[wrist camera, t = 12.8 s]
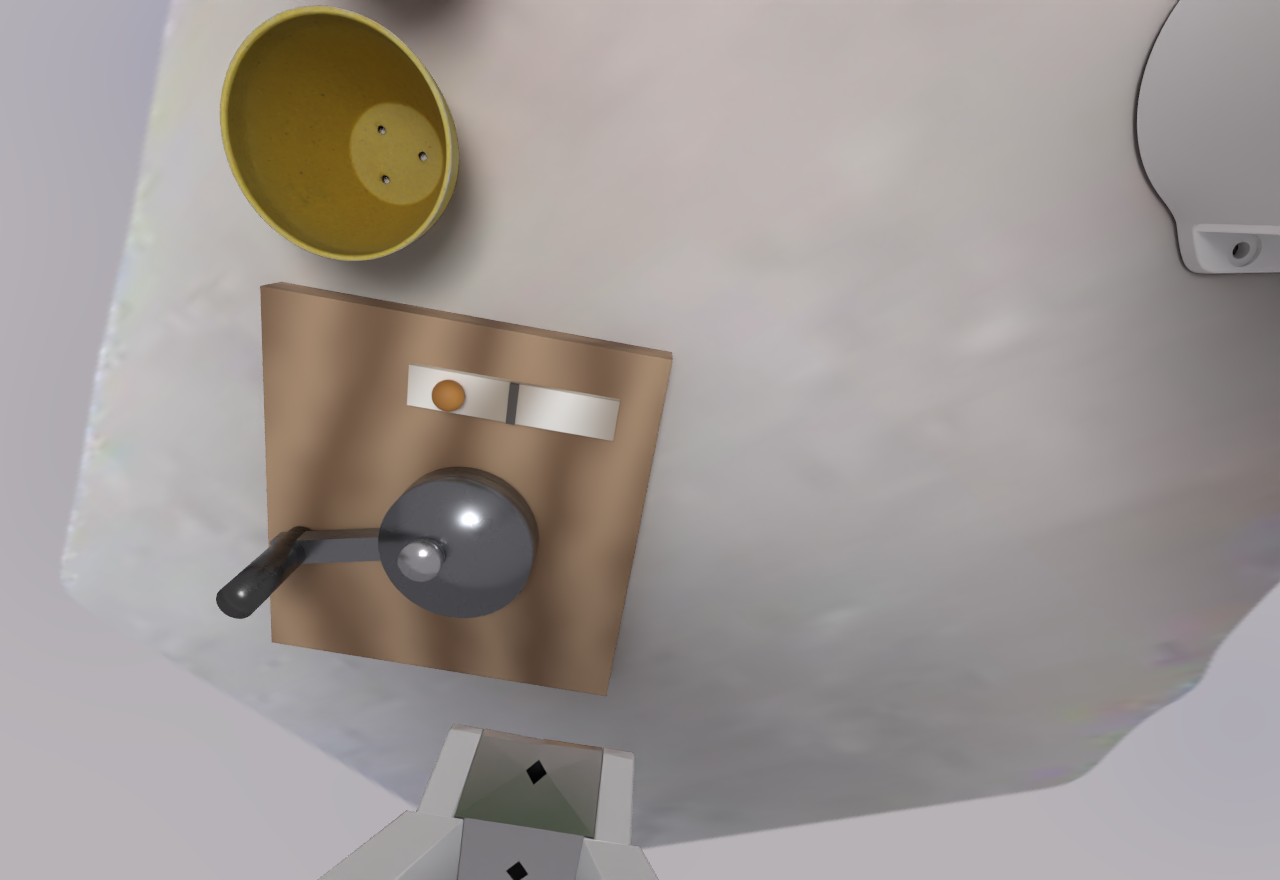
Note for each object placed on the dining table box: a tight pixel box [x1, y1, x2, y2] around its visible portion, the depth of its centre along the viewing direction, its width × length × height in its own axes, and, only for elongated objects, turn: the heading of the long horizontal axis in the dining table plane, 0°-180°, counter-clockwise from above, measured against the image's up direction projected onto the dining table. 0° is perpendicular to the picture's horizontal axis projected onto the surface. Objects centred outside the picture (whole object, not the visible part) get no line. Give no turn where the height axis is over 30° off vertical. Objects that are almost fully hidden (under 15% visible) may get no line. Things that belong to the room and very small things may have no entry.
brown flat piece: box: [260, 282, 672, 696], centre depth 39 cm, size 23×24×4 cm
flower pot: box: [220, 5, 459, 261], centre depth 31 cm, size 10×10×7 cm
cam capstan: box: [216, 467, 539, 619], centre depth 36 cm, size 16×9×7 cm, turn 94°
